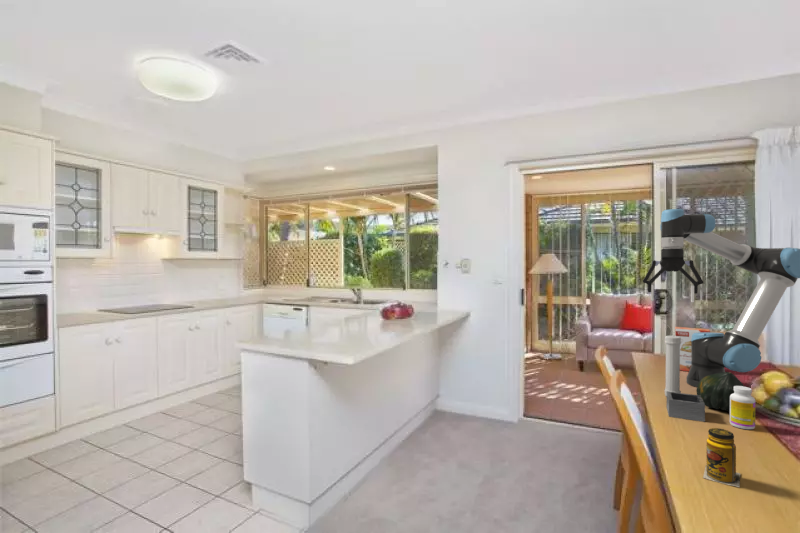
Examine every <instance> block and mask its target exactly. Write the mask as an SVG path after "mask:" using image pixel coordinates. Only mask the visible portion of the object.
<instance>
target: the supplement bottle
mask: <svg viewBox="0 0 800 533" xmlns="http://www.w3.org/2000/svg"><path fill="white" fill-rule="evenodd" d="M744 386H745V385H744ZM744 386H734V389H733V390H734V393H733V394H731V395H730V412H729V424H730V425H731V426H733V427H734V428H738V429H742V430H749V431H750V430H754V429H755V428H756V399H755V397H754V396H753V395H752V393H753V391H752V388H750V387H747V386H745V387H744Z"/></svg>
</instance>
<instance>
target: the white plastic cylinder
mask: <svg viewBox="0 0 800 533" xmlns="http://www.w3.org/2000/svg"><path fill="white" fill-rule="evenodd" d="M663 324H665V325H666V326H668V324H667V323H666V322H663ZM668 327H669V329H670V331H671V334H672V335H665V337H664V343H665V388H664V396H665V397H667V391H668V392H676V393H682V391H681V390H680V388H681V387H680V385H681V384H680V381H681V380H680V379H681V376H680V375H681V374H680V373H681V372H680V371H681V370H680V344H681V338H680V337H678V336H675V335H674V333H673V329H672V328H671V327H670V326H668Z"/></svg>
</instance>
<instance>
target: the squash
mask: <svg viewBox="0 0 800 533" xmlns="http://www.w3.org/2000/svg"><path fill="white" fill-rule="evenodd" d="M734 386H744V387H746V386H745V385H744V383H743V382H742V381H741V380H740V379H739V378H738V377H737V376H736V375H735V374H734V373H732V372H731V371H725V372H721V373H717V374H712V375H708V376H706V377H704V378H703V379H702V380H701V381H700V382H699V384H698V385H697V387H696V391H695V392H696V395H700V396H701V398H702V400H703V402H704V404H705V407H707V408H712V409H716V410H719V409H720V410H722V411H726V412H728V413H730V395H731V394H733V393H734V390H733V389H734Z"/></svg>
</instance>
